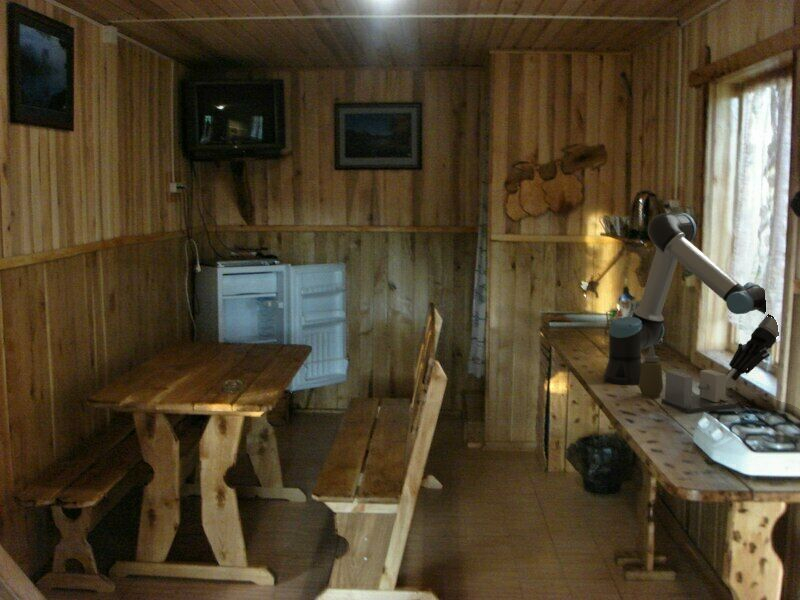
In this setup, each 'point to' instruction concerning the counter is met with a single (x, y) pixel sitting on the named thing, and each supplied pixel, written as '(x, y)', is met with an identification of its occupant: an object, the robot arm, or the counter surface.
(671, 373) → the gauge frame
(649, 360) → the squeeze bottle
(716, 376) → the block
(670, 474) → the counter surface
